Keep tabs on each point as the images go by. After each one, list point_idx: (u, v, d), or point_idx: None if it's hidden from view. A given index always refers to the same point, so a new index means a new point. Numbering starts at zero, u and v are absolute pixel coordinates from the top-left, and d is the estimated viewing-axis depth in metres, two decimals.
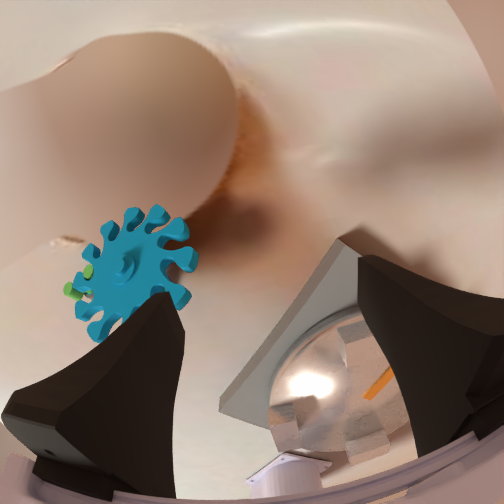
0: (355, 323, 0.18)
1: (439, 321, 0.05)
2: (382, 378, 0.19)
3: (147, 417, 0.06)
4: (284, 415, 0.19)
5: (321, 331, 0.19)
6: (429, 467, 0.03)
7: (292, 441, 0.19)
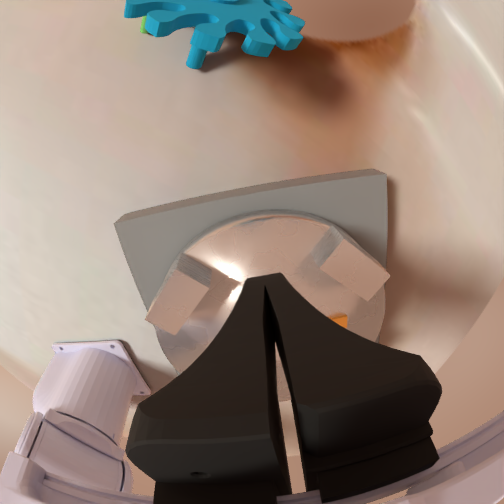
0: (347, 238, 0.16)
1: (287, 361, 0.05)
2: None
3: (277, 408, 0.06)
4: (198, 273, 0.15)
5: (310, 218, 0.16)
6: (429, 467, 0.03)
7: (174, 316, 0.15)
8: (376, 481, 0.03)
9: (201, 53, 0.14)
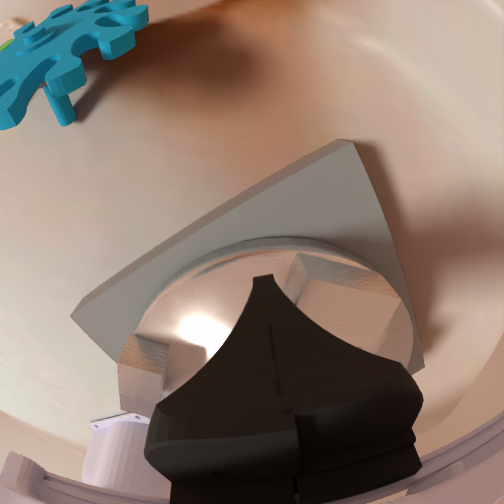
0: (327, 261, 0.11)
1: (267, 364, 0.05)
2: None
3: None
4: (148, 358, 0.11)
5: (267, 248, 0.12)
6: (429, 467, 0.03)
7: (145, 404, 0.12)
8: (355, 488, 0.03)
9: (61, 107, 0.10)
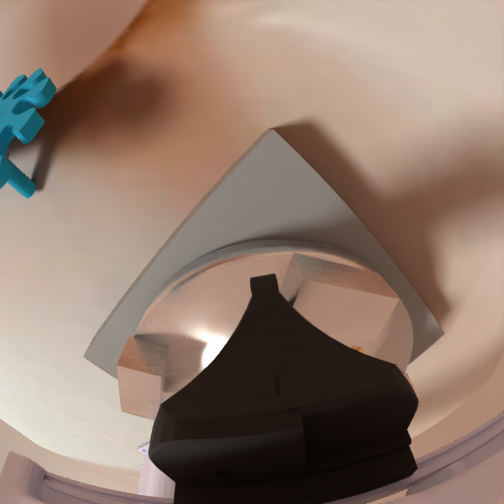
0: (324, 261, 0.11)
1: (263, 365, 0.05)
2: None
3: None
4: (147, 360, 0.11)
5: (264, 250, 0.12)
6: (429, 467, 0.03)
7: (145, 405, 0.12)
8: (350, 490, 0.03)
9: (19, 184, 0.12)
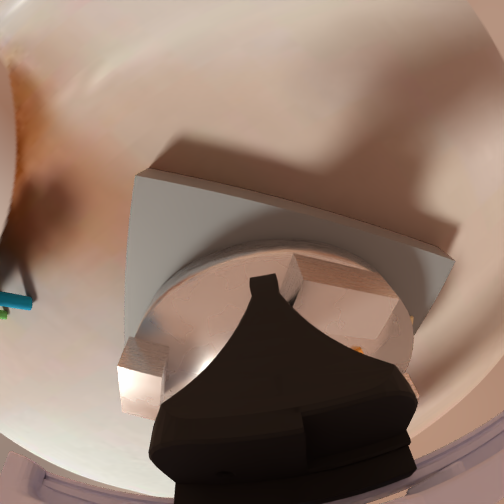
0: (324, 262, 0.11)
1: (262, 365, 0.05)
2: None
3: None
4: (148, 360, 0.11)
5: (264, 250, 0.12)
6: (429, 467, 0.03)
7: (146, 406, 0.12)
8: (349, 489, 0.03)
9: (17, 304, 0.15)
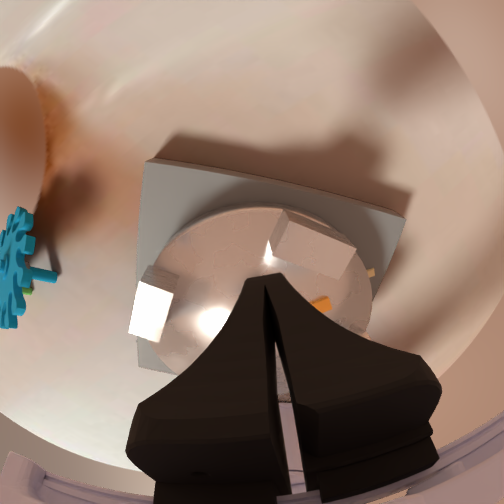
0: (304, 218, 0.16)
1: (286, 361, 0.05)
2: None
3: (277, 408, 0.06)
4: (163, 281, 0.16)
5: (262, 206, 0.16)
6: (429, 467, 0.03)
7: (152, 325, 0.16)
8: (376, 482, 0.03)
9: (45, 277, 0.20)
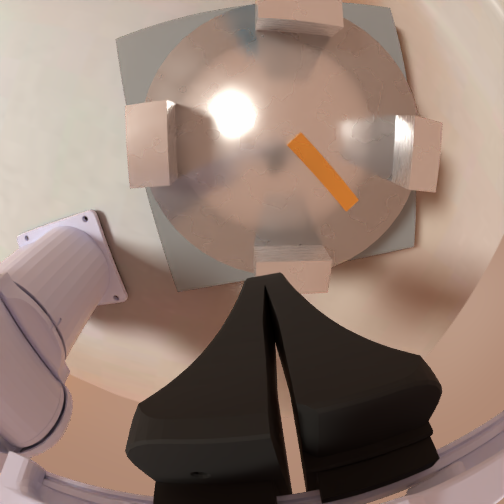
0: None
1: (286, 361, 0.05)
2: (328, 166, 0.14)
3: (277, 408, 0.06)
4: None
5: None
6: (429, 467, 0.03)
7: (286, 8, 0.09)
8: (376, 482, 0.03)
9: None
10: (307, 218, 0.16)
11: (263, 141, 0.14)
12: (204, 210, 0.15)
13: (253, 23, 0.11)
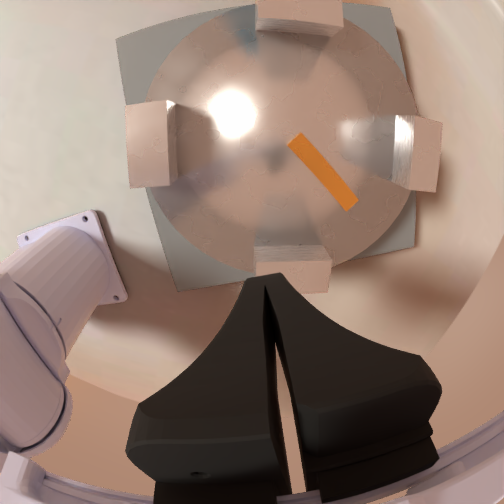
0: None
1: (286, 361, 0.05)
2: (328, 166, 0.14)
3: (277, 408, 0.06)
4: None
5: None
6: (429, 467, 0.03)
7: (286, 8, 0.09)
8: (376, 482, 0.03)
9: None
10: (307, 218, 0.16)
11: (263, 141, 0.14)
12: (204, 210, 0.15)
13: (253, 23, 0.11)
